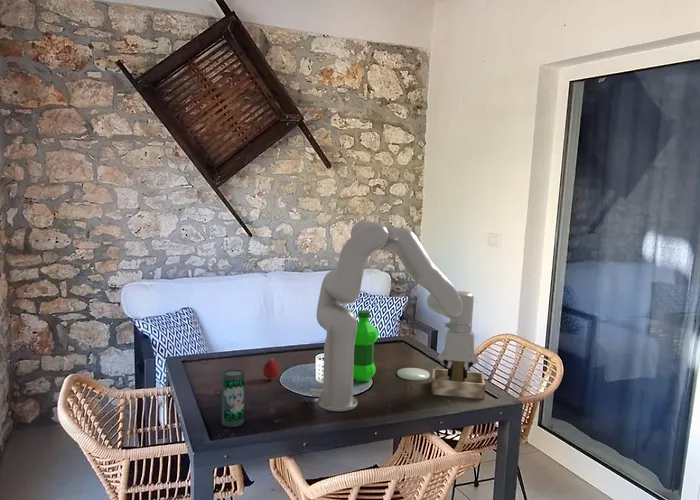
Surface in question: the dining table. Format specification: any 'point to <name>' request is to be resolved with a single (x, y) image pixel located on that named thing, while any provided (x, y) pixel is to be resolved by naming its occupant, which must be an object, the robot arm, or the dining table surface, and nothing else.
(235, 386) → the can
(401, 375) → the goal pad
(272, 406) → the dining table surface
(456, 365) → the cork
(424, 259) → the robot arm
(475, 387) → the box
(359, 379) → the plastic bottle
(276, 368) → the onion
